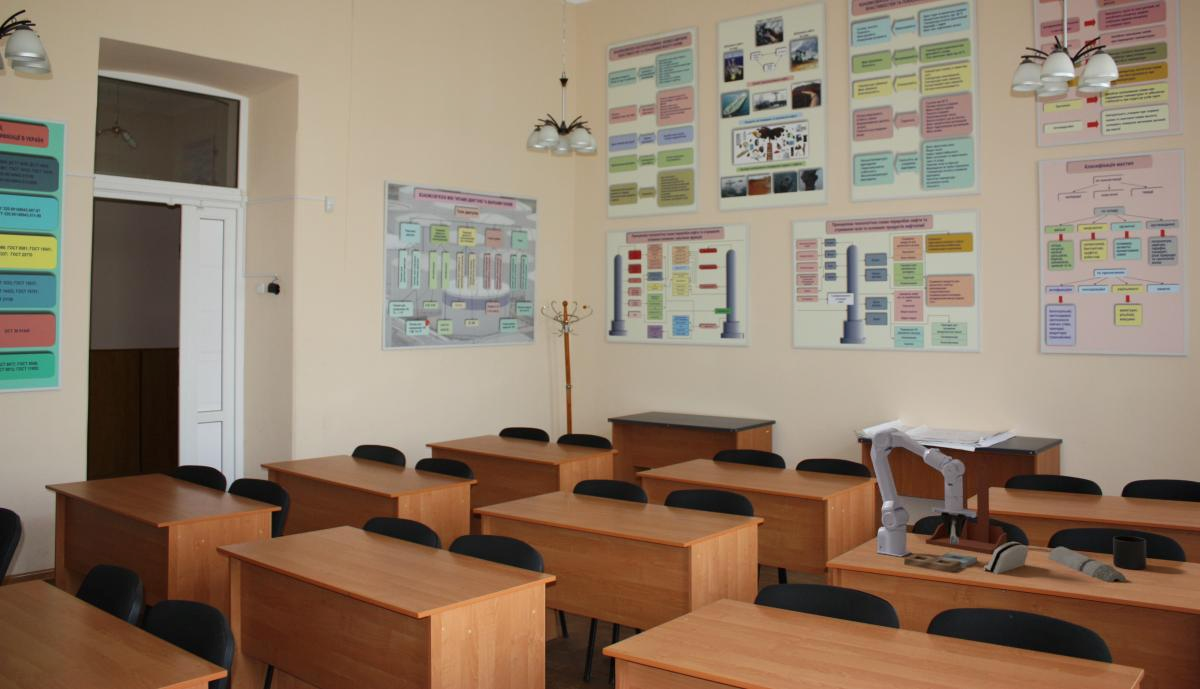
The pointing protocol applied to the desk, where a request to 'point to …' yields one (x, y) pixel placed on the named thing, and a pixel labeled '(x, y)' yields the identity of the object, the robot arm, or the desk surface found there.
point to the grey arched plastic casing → (1007, 557)
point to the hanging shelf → (974, 534)
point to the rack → (932, 563)
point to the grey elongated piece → (1085, 564)
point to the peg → (953, 533)
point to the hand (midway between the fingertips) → (954, 535)
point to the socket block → (960, 558)
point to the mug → (1129, 552)
